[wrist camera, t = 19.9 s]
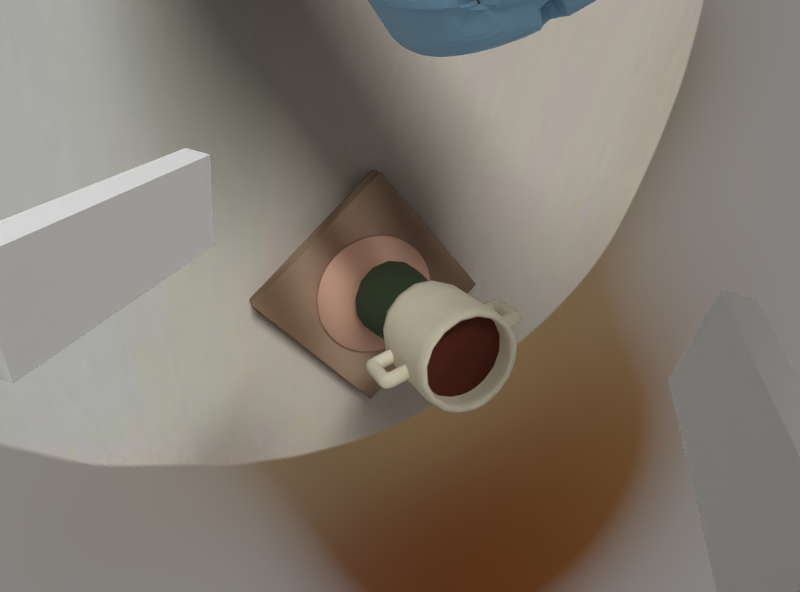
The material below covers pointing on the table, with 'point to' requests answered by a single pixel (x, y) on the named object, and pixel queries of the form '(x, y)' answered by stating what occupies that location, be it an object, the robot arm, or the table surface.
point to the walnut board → (351, 277)
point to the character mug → (436, 337)
